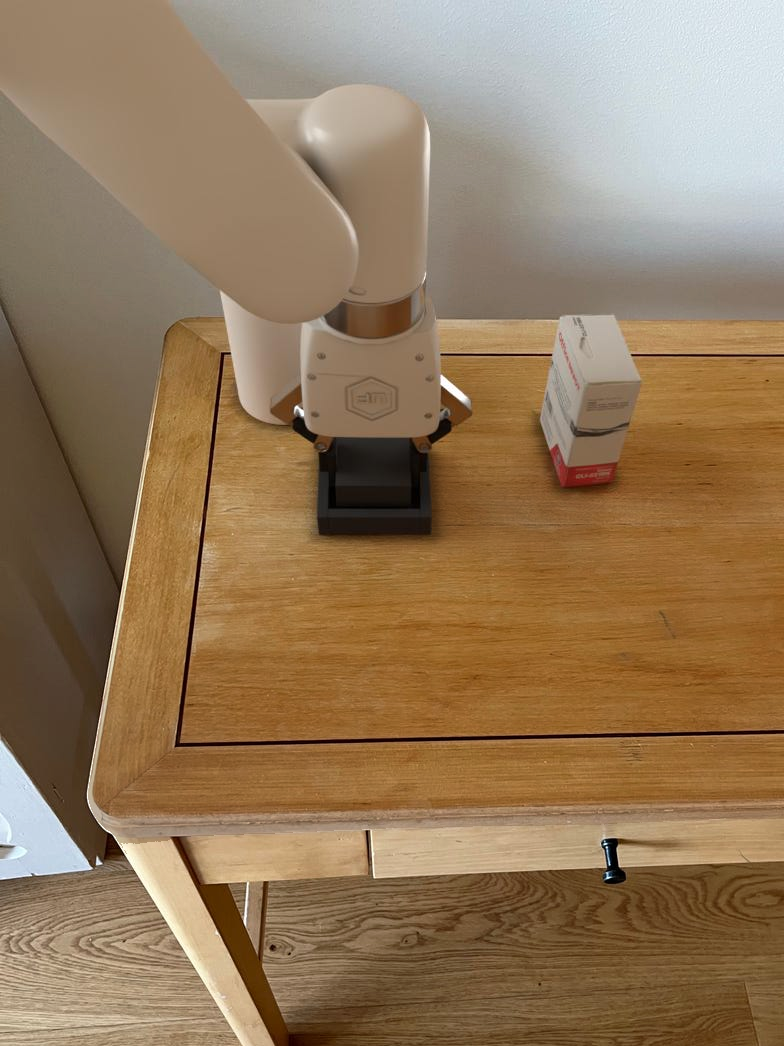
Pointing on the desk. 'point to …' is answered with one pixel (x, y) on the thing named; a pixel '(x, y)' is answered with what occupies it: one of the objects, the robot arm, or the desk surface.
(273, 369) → the cup
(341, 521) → the socket pad
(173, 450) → the desk surface
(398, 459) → the black pad
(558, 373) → the ink box
